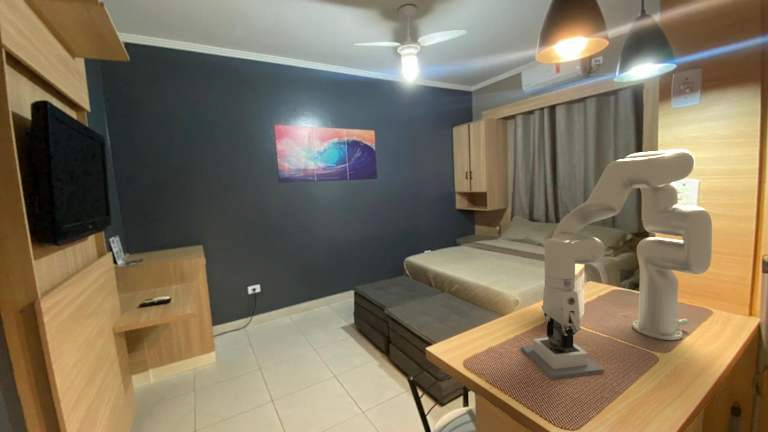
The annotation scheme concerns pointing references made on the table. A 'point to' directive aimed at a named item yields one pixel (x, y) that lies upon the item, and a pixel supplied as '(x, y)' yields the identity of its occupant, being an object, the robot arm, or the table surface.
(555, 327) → the grey turned piece
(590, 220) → the robot arm
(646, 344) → the table surface
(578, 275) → the coffeecake box
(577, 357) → the socket
